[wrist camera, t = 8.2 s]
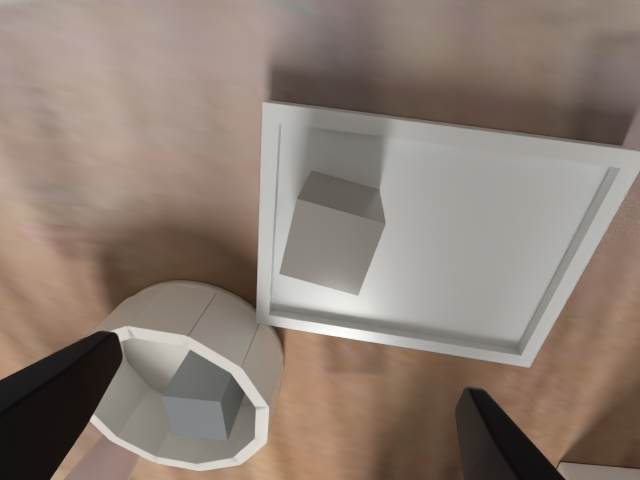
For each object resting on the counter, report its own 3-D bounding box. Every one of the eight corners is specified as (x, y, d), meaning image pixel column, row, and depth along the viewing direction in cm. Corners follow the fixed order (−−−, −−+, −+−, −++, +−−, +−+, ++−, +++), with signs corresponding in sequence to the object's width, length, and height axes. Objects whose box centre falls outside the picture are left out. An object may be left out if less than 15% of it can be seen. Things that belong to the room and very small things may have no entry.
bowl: (290, 296, 21) (272, 349, 17) (279, 419, 27) (264, 483, 23) (106, 267, 22) (44, 312, 18) (133, 393, 28) (91, 451, 23)
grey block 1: (248, 382, 24) (227, 441, 20) (202, 378, 25) (172, 434, 21) (244, 346, 23) (220, 401, 19) (194, 342, 23) (161, 395, 19)
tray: (623, 145, 16) (649, 152, 14) (517, 348, 21) (529, 367, 20) (271, 100, 16) (262, 101, 15) (262, 307, 22) (255, 323, 21)
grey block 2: (379, 189, 17) (385, 223, 13) (358, 249, 18) (358, 295, 14) (311, 170, 17) (296, 198, 13) (296, 231, 18) (279, 273, 14)
